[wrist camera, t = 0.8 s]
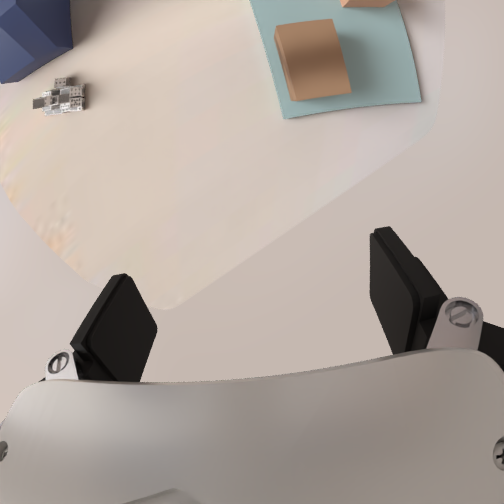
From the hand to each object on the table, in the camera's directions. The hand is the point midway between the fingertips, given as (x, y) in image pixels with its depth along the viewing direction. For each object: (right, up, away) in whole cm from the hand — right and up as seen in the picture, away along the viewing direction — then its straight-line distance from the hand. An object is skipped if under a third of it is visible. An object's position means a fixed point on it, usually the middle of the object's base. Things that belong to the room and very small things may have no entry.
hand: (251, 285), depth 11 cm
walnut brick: (+6, +22, +17) cm, 28 cm away
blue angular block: (-31, +34, +13) cm, 48 cm away
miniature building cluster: (-25, +25, +18) cm, 39 cm away
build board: (+10, +28, +14) cm, 33 cm away
